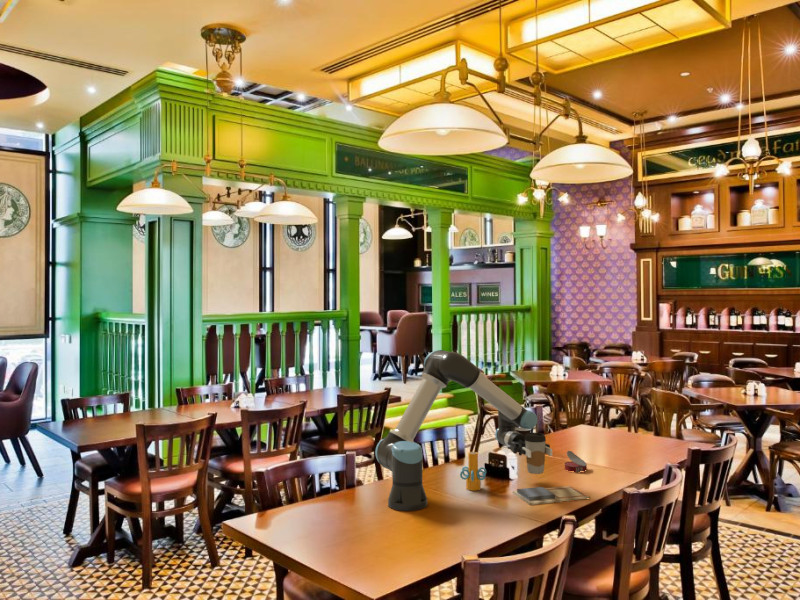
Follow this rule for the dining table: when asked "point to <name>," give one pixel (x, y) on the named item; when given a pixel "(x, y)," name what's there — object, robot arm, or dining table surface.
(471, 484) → the orange box with loops
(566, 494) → the board
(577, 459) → the canned food
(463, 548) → the dining table surface
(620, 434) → the dining table surface
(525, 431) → the coffee mug
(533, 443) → the coffee cup
